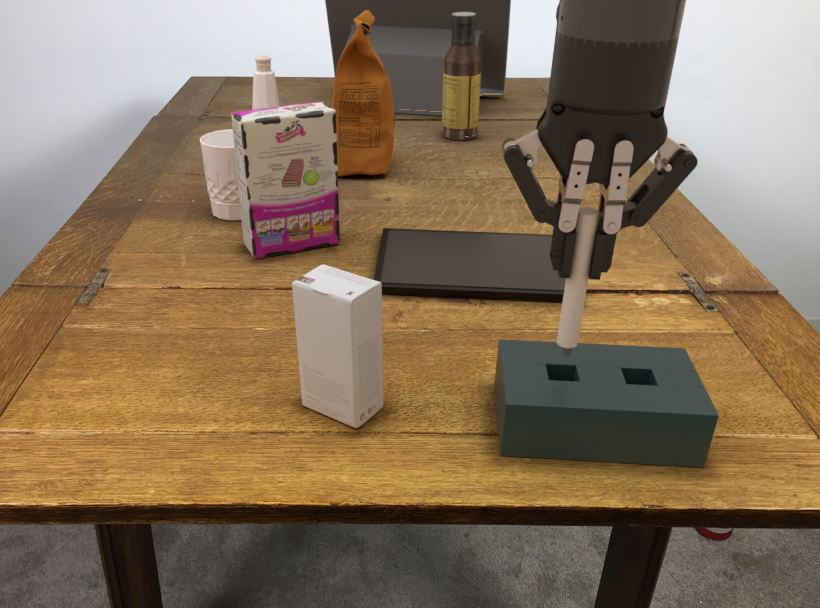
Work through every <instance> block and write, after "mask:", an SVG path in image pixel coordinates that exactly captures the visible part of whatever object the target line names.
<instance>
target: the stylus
mask: <svg viewBox="0 0 820 608" xmlns="http://www.w3.org/2000/svg"><path fill="white" fill-rule="evenodd" d="M598 219H599V211H598V208H597V209H596V208H594V207H590V206H582V207H581V206H580V207H579V212H578V217H577V222H576V226H575V228H574V229H575V230H576V233H577V236H576V242H575V249H574V255H573V262H572V268H571V275H570V278H566V282H565V289H564V296H563V302H561V310H560V315H559V322H558V323H559V324H558V329H557V335H556V342H557V344H558V345H559V346H560V352H559V353H560V355H561V356H563V357H569V356H570V355H571V352H572V348H574V347H576V346H577V344H578V343H579V338H580V332H581V326H582V320H583V313H584V307H585V301H586V295H587V290H588V283H589V271H590V265H591V259H592V253H593V247H594V241H595V235H596V230H597V225H598Z"/></svg>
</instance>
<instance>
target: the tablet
mask: <svg viewBox="0 0 820 608" xmlns="http://www.w3.org/2000/svg"><path fill="white" fill-rule="evenodd" d="M552 235H553V234H547V233H546V234H545V233H524V232H523V233H521V232H520V233H519V232H495V231H494V232H493V231H469V230H468V231H467V230H444V229H443V230H441V229H417V228H415V229H414V228H390V227H389V228H388V227H383V228H382V232H381V238H380V244H379V249H378V254H377V260H376V265H375V271H374V277H373V280H375V281H379V282H381V284H382V296H383V295H384V296H385V295H386V296H387V295H388V296H409V297H432V298H452V299H453V298H454V299H475V300H477V299H479V300H495V301H496V300H497V301H498V300H499V301H522V302H543V303H545V302H546V303H562V302H563V296H564V289H565V282H566V278H559V274H558V271H557V270H553V266H552V263H551V259H550V249H551V242H552Z"/></svg>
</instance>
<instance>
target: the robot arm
mask: <svg viewBox="0 0 820 608" xmlns="http://www.w3.org/2000/svg"><path fill="white" fill-rule="evenodd" d="M686 2H687V0H559V1H558V5H557V7H556V11H555V19H556V27H555V28H556V29H555V35H554V43H553V44H554V45H553V51H552V52H553V53H552V59H551V60H552V61H551V66H550V67H551V68H550V76H549V83H548V84H549V85H548V94H547V101H546V106H545V108H544V110H543V113H542V114H541V115H540V117H539V118H538V120H537V123H536V125H535V129H534V130H532V131H530V132H528V133H527V134H525V135H522V136H521V137H519V138H515V137H508V138H506V139H504V141H503V142H502V143H501V149H502V154H503V159H504V162H505V164H506V166H507V168H508V170H509V172H510V174H511V176H512V178H513V180H514V181H515V184H516V185H517V188H518V189H519V192H520V193H521V196H522V197H523V199H524V201H525V203H526V205H527V207H528V209H529V211H530V213H531V215H532V217H533V218H534V220H535V221H536V222H537V223H539V224H547V225H550V226H552V227H553V228H552V234H551V235H552V242H551V249H550V259H551V263H552V266H553V270H557V271H558V274H559V278H570V275H571V268H572V262H573V255H574V249H575V242H576V236H577V233H576V230H575V229H574V228H575V226H576V222H577V217H578V212H579V208H581V203H582V202H583V199H584V195H585V191H586V186H587V185H590V184H598V185H599V198H598V205H597V210H598V211H599V219H598V225H597V230H596V235H595V241H594V247H593V253H592V259H591V265H590V271H589V278H588V280H596V281H599V280H600V279H601V276H602V273H608V271H609V270H610V269H611V267H612V263H613V256H614V253H615V252H614V251H615V246H616V239H617V235H618V234H619V232H620V231H622V230H623V229H625V228H628V227H634V228H642V227H644V226H646V224H647V223H648V222H649V221H650V220H651V219H652V218H653V216H654V215H655V214H656V213H657V212H658V211H659V210H660V209H661V208H662V207H663V205H664V204H665V203H666V202H667V200H669V198H671V196H672V195H673V194H674V193H675V191H676V190H677V189H678V188H679V187H680V186H681V185H682V184H683V182H685V180H686V179H687V178H688V177H689V175H691V174H692V172H693V171H694V170H695V169H696V168H697V166H698V158H697V156H696V155H695V153H694V152H693V151H692V150H691V149H690V148H689V147H688V146H687V145H686V144H685V143H679V142H677V141H675V140H674V139H672V138H671V137H669V136H668V133H669V131H668V130H669V129H668V126H667V123H666V120H665V110H666V105H667V100H668V95H669V89H670V84H671V80H672V74H673V70H674V64H675V60H676V53H677V50H678V49H677V48H678V44H679V39H680V33H681V29H682V25H683V24H682V23H683V18H684V14H685V7H686V4H687V3H686ZM541 147H543V149H544V150H545V152H546V153H547V155H548V157H549V158H550V161H551V162H552V163H553V165H554V167H555V168H556V170H557V172H558V174H559V177H558V190H557V196H556V201H553V200H551V199H548V198H547V196H546V194H545V192H544V190H543V188H542V186H541V185H540V181H539V180H538V178H537V177H536V174H535V173H534V170H533V169H534V168H535V167H536V166H537V165H538V163H539V156H538V151H539V149H540V148H541ZM656 152H657V153H656ZM655 154H656V155H655ZM653 155H655V157H654V159H653V166H654V168H653V170H652V171H651V172H649V174H648V176H647V177H646V178H645V179H644V180H643V181H642V182H641V184H640V185H639V186H638V187H637V188H636V189H635V190H634V192H632V194H631V195H630V197H629V198H628V199H627V196H628V195H627V194H628V187H629V181H630V179H631V178H632V177H633V176H634V175H635V174H636V173H637V172H638V171H639V170H640V169H641V168H642V167H643V166H644V165H645V164H646V163H647V162H648V161H649V160H650V159H651V158H652V157H653Z"/></svg>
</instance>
